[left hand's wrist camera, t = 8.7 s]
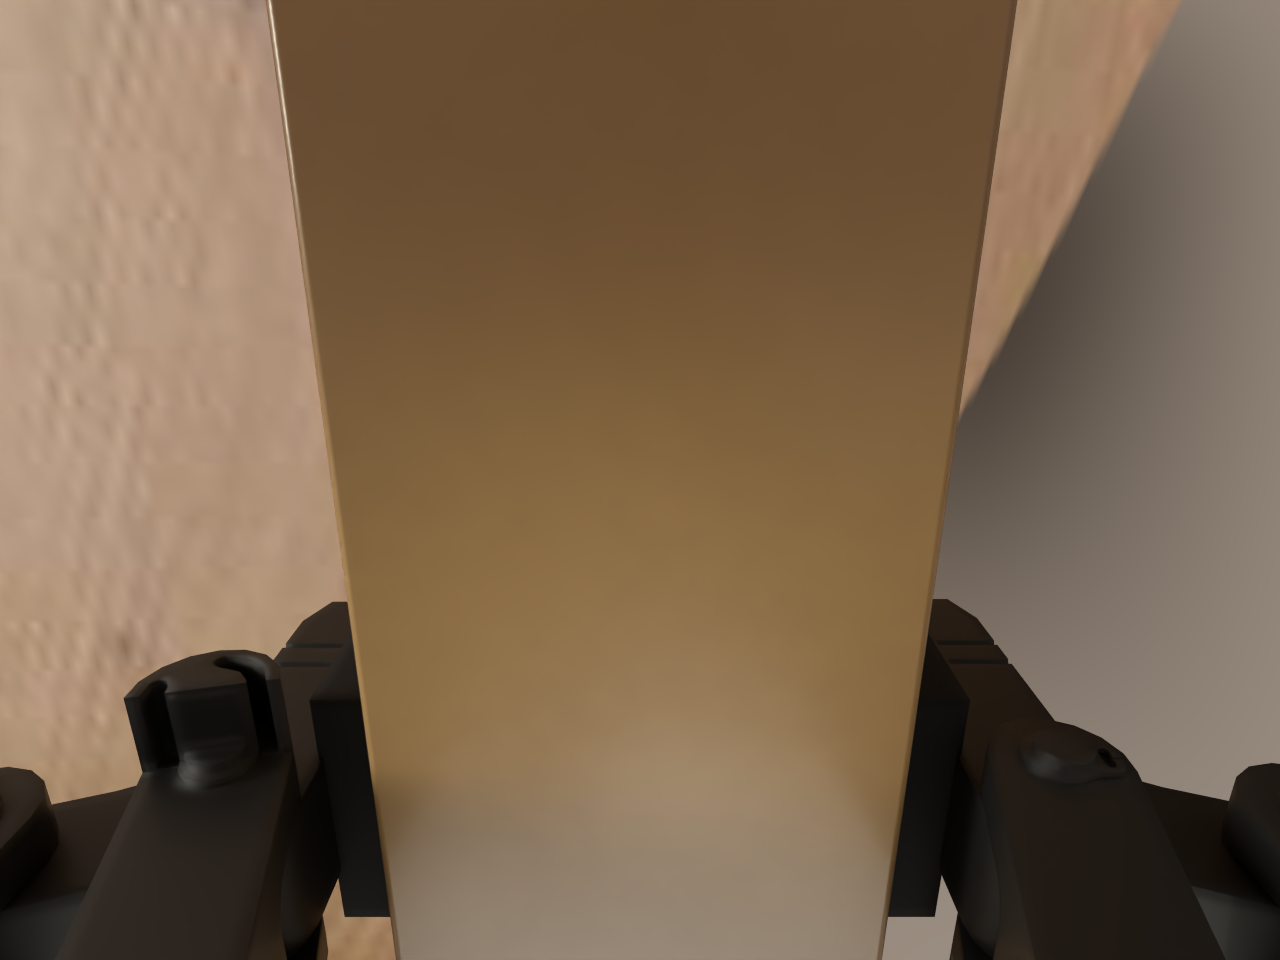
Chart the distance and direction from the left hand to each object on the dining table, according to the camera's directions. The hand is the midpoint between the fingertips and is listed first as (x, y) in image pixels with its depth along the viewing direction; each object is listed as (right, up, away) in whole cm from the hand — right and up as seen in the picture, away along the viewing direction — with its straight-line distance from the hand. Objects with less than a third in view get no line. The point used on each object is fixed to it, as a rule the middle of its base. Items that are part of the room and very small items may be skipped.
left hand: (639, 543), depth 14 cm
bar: (0, +6, -2) cm, 7 cm away
